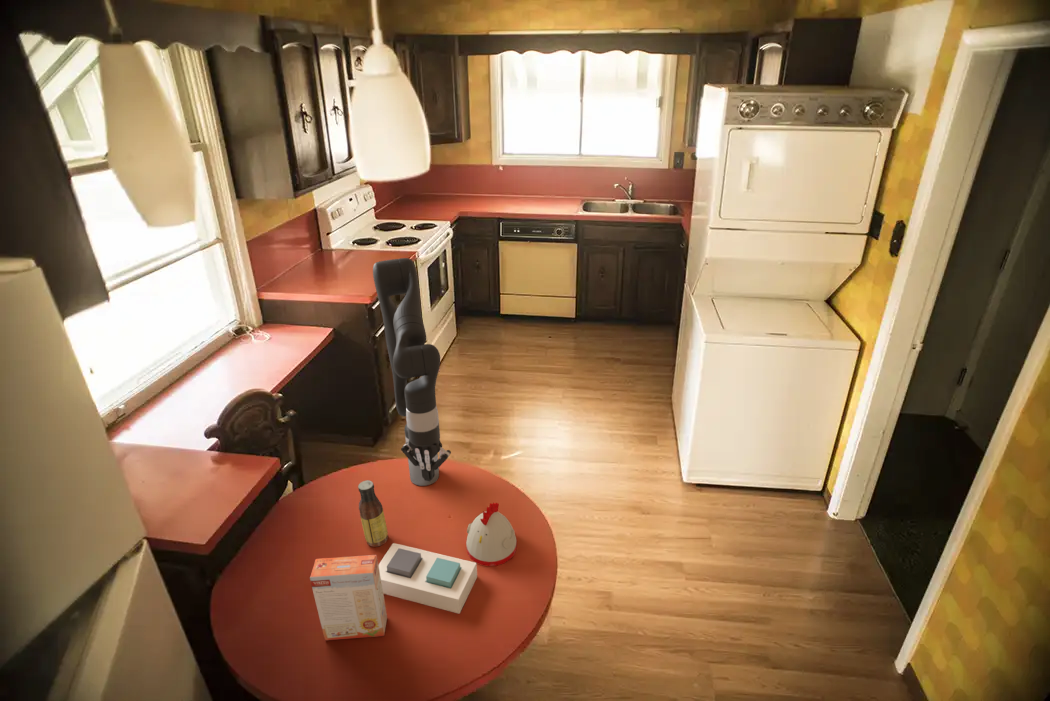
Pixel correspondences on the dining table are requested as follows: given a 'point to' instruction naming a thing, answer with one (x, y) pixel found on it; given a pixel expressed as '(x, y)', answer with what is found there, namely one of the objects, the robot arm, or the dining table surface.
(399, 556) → the charcoal key
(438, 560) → the teal key
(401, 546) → the key housing
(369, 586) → the cracker box
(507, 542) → the kitchen timer
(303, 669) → the dining table surface
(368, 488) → the sauce bottle
